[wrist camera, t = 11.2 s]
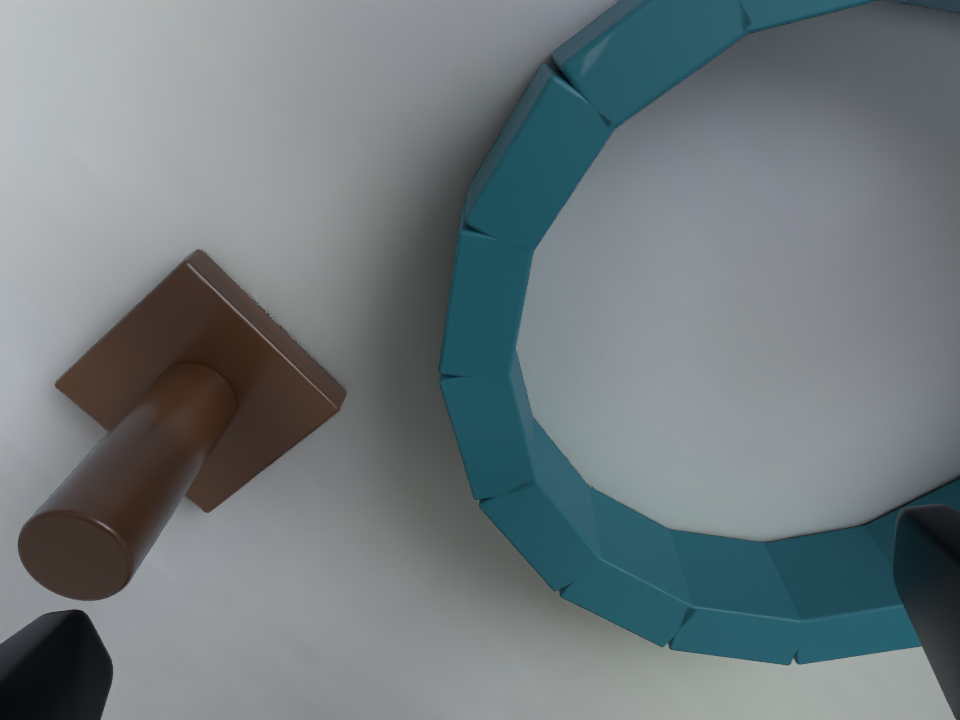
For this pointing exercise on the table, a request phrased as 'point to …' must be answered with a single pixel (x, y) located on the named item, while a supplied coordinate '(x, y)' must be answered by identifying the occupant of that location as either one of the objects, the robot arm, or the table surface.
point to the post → (172, 425)
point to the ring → (536, 459)
